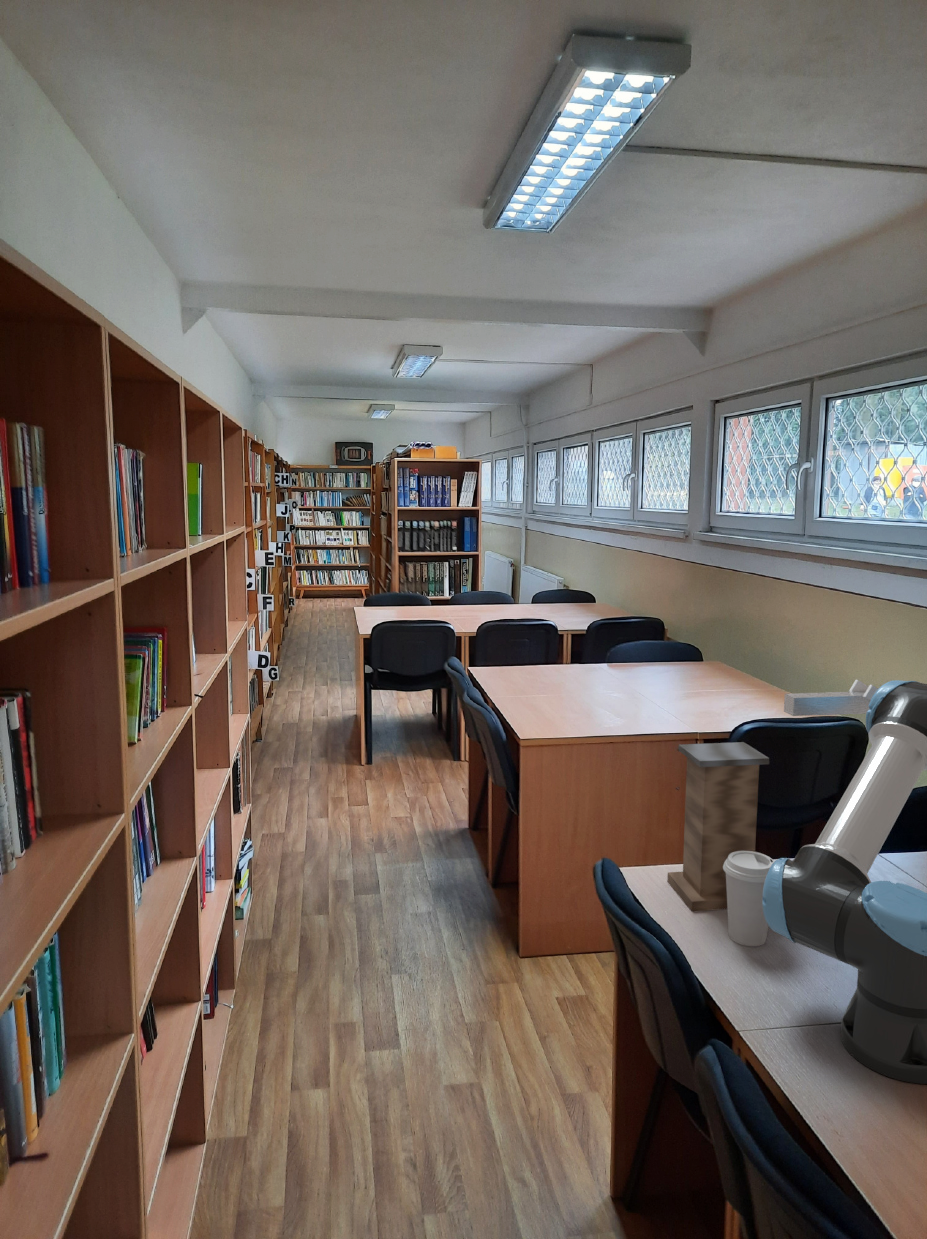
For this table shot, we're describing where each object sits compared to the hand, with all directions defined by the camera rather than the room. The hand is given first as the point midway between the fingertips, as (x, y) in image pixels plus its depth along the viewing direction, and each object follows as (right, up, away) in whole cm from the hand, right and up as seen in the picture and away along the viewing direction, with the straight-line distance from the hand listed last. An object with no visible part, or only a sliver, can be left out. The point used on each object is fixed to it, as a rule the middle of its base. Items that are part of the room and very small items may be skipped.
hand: (860, 688), depth 164 cm
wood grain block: (-3, -5, 0) cm, 6 cm away
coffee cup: (-26, -45, -12) cm, 53 cm away
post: (-27, -42, +5) cm, 50 cm away
